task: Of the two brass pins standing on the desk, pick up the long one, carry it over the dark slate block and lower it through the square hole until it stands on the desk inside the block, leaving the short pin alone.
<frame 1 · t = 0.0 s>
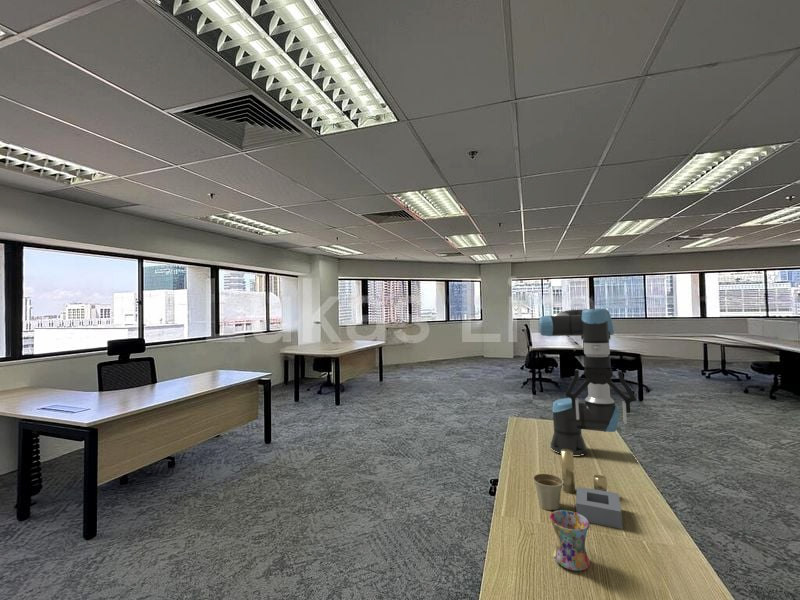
hand: (600, 420, 118), 28 cm above the table, fingers open, 13 cm apart
flower pot: (549, 506, 120), on the table
long pin: (569, 490, 129), on the table
slate block: (598, 514, 114), on the table
mug: (570, 559, 94), on the table
short pin: (600, 495, 126), on the table
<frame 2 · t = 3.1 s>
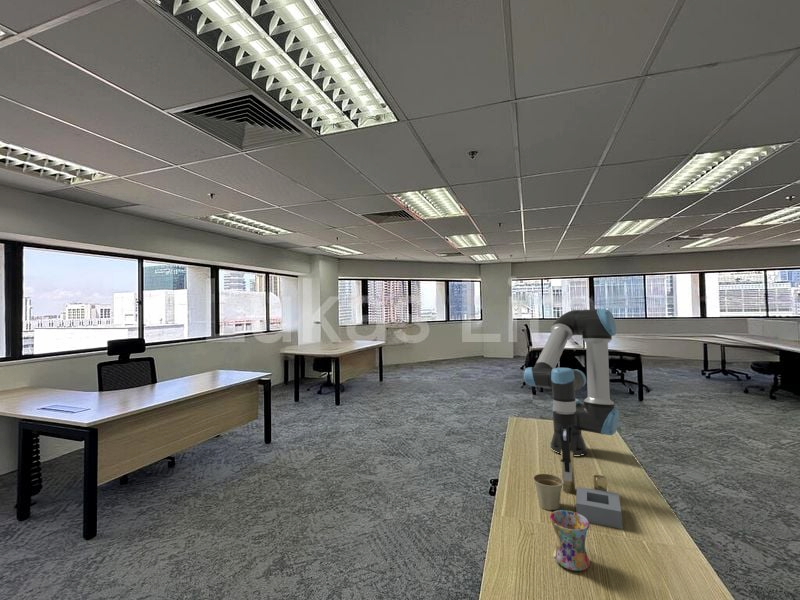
hand: (568, 477, 130), 5 cm above the table, fingers closed on long pin, 4 cm apart
long pin: (569, 490, 129), on the table, touching gripper
everything else where it was.
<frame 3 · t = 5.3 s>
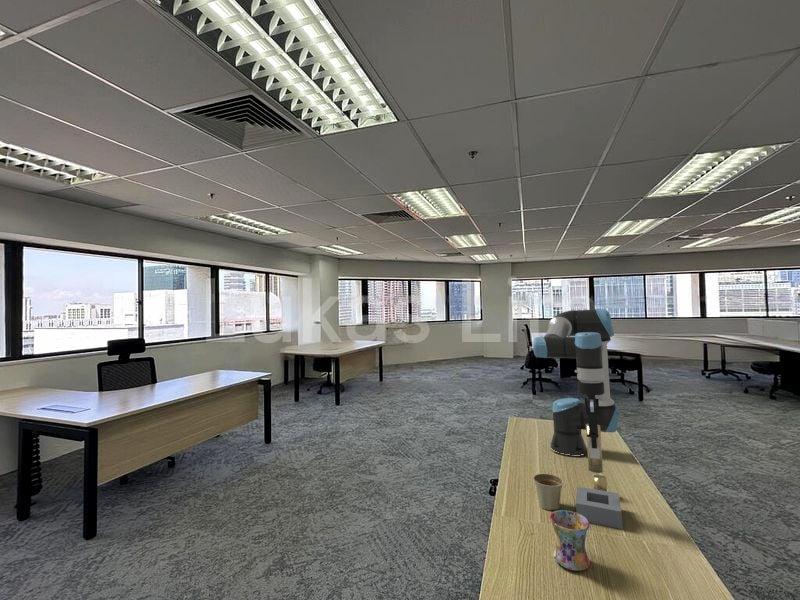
hand: (594, 455, 115), 18 cm above the table, fingers closed on long pin, 4 cm apart
long pin: (595, 470, 114), point 14 cm above the table, touching gripper
everything else where it was.
when the fingers open (7 cm above the table, at t = 7.5 s): long pin drops 2 cm, resting in slate block.
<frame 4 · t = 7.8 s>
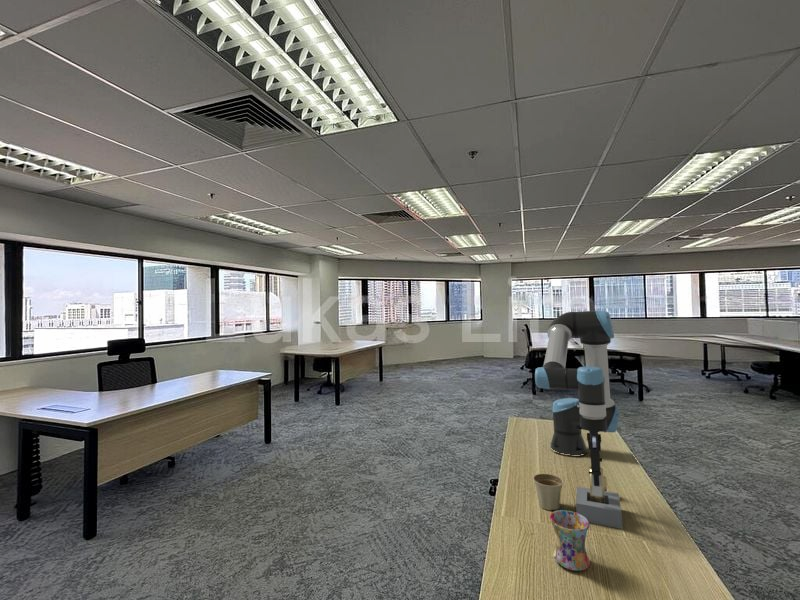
hand: (597, 488, 114), 8 cm above the table, fingers open, 9 cm apart
long pin: (598, 514, 114), resting in slate block
everything else where it was.
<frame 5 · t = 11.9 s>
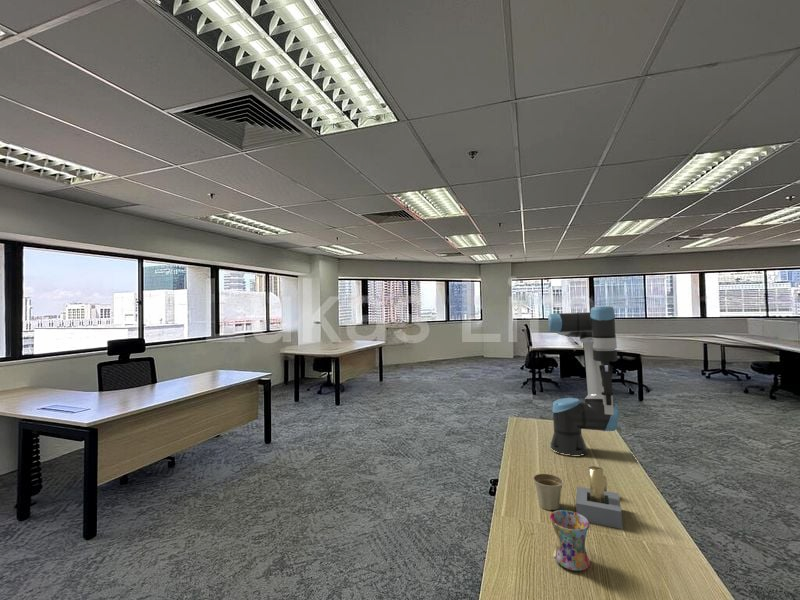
hand: (608, 409, 129), 29 cm above the table, fingers open, 13 cm apart
nothing on the table moved.
at the end: long pin 0.1 cm off-centre on the slate block, point 0.0 cm above the slate block's base; long pin tilted 0°; short pin moved 0.0 cm from its start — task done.
